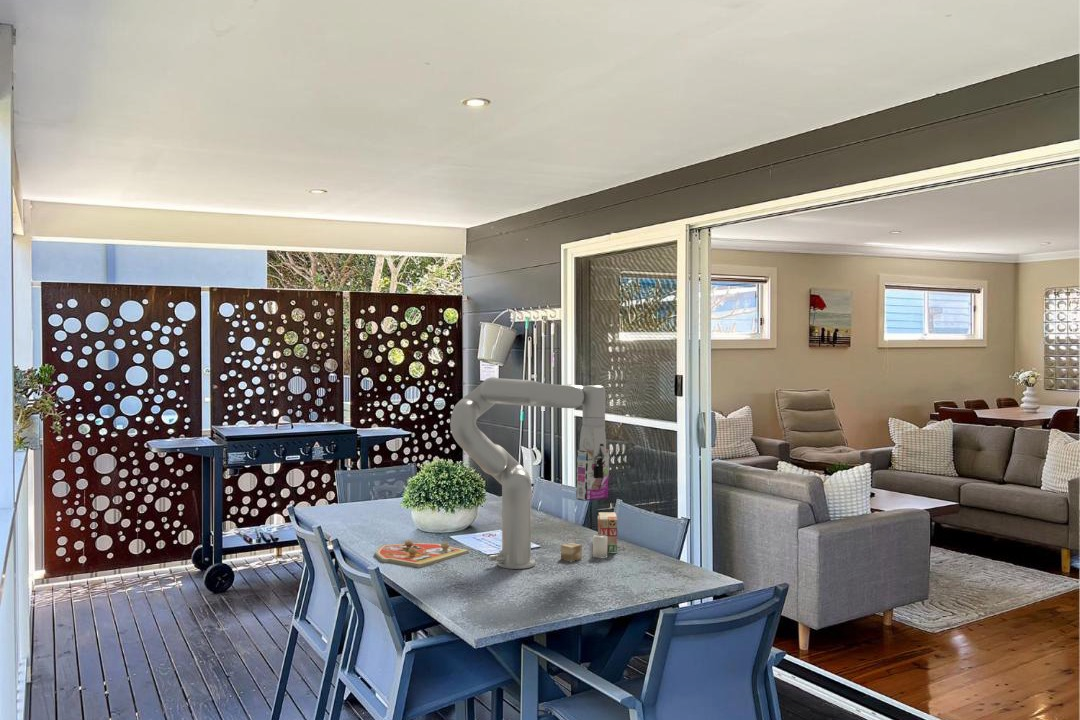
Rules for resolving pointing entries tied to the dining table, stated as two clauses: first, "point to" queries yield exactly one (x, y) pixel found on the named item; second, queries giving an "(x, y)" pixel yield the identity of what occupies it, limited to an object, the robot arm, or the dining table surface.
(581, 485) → the candy bar box
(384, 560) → the knob puzzle
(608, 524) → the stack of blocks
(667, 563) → the dining table surface
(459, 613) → the dining table surface
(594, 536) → the cream plastic peg
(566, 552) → the oak block
